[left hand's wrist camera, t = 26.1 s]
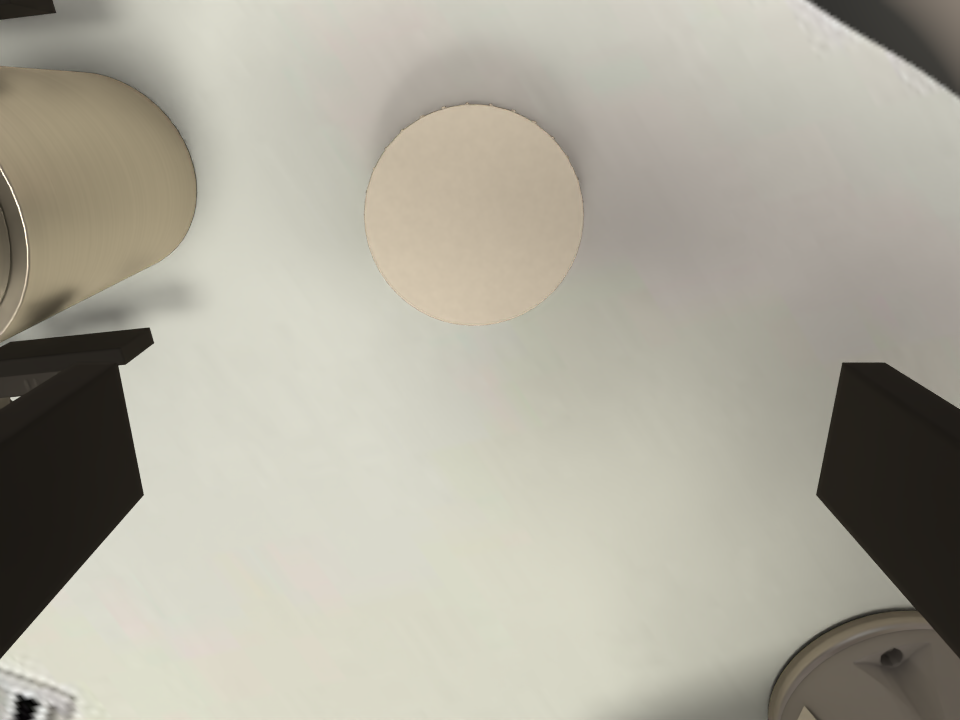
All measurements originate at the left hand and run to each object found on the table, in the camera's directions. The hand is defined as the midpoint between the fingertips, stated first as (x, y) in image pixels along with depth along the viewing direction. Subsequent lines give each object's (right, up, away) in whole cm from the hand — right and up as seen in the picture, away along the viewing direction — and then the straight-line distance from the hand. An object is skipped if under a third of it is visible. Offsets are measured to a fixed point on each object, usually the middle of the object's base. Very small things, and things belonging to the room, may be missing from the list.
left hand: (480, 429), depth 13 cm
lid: (0, +8, +20) cm, 21 cm away
